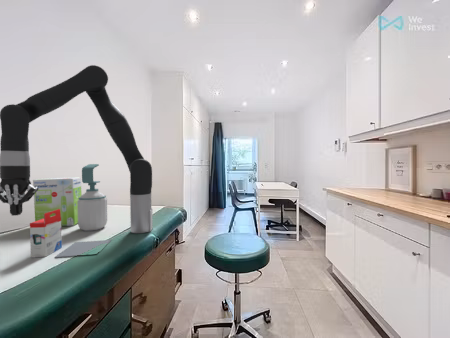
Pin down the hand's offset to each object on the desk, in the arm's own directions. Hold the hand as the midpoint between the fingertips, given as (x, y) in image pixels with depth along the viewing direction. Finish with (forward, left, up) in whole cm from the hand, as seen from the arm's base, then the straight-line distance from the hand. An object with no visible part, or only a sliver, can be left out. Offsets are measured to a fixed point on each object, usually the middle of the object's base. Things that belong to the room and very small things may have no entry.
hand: (16, 214), depth 76 cm
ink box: (-9, 0, -14) cm, 17 cm away
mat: (-21, -1, -14) cm, 25 cm away
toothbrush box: (+7, -40, -14) cm, 43 cm away
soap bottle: (-13, -29, -14) cm, 35 cm away
